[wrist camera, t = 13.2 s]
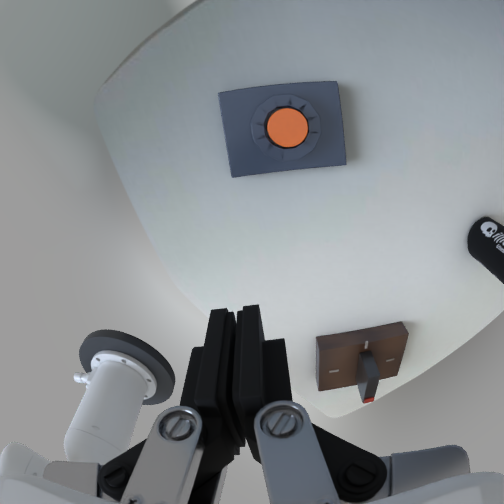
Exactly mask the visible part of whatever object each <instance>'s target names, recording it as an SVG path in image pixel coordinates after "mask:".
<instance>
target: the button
mask: <svg viewBox="0 0 504 504" xmlns="http://www.w3.org/2000/svg"><path fill="white" fill-rule="evenodd" d="M267 131H268V134H269V136H270V137H271V139H272V140H273V141H274V142H275V143H277V144H278V145H280V146H284V147H293V146H296V145H298V144H300V143H301V142H302V141H303V140H304V139H305V137H306V136H307V132H308V124H307V121H306V119H305V117H304V116H303V115H302V114H301V113H300V112H299V111H297V110H295V109H291V108H284V109H280V110H278V111H276V112H275V113H273V114H272V115H271V117H270V118H269V120H268V123H267Z"/></svg>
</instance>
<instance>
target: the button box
mask: <svg viewBox="0 0 504 504" xmlns="http://www.w3.org/2000/svg"><path fill="white" fill-rule="evenodd" d="M218 97H219V103H220V110H221V116H222V122H223V128H224V134H225V140H226V146H227V152H228V158H229V164H230V170H231V176H232V178H234V177H241V176H248V175H255V174H263V173H271V172H279V171H288V170H297V169H307V168H317V167H328V166H341V165H346V153H345V141H344V131H343V121H342V113H341V105H340V97H339V90H338V83H337V81H323V82H303V83H289V84H278V85H268V86H260V87H252V88H245V89H238V90H232V91H226V92H220V93H218ZM284 108H291V109H295V110H297V111H299V112H300V113H301V114H302V115H303V116H304V117H305V119H306V121H307V124H308V132H307V136H306V137H305V139H304V140H303V141H302V142H301V143H300V144H298V145H296V146H293V147H284V146H280V145H278V144H277V143H275V142H274V141H273V140H272V139H271V137H270V136H269V134H268V131H267V123H268V120H269V118H270V117H271V115H272V114H273V113H275V112H276V111H278V110H280V109H284Z"/></svg>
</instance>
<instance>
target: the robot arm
mask: <svg viewBox="0 0 504 504" xmlns="http://www.w3.org/2000/svg"><path fill="white" fill-rule="evenodd" d="M91 369H92V371H91V372H88V373H87V374H84V373H79V372H76V373H75V374H74V379H75V381H76V382H79V383H87V384H86V389H87V390H86V392H85V394H84V396H83V398H82V401H81V403H80V405H79V407H78V409H77V411H76V413H75V415H74V418H73V420H72V422H71V424H70V427H69V429H68V431H67V433H66V436H65V439H64V450H65V454H66V457H67V460H68V462H65V461H53V462H51V461H49V460H47V459H46V458H44V457H43V456H41V455H39V454H38V453H36V452H34V451H33V450H32V449H30V448H28V447H27V446H25V445H23V444H21V443H18V442H11V443H9V444H8V445H7V446H6V447H5V448H4V449H3V451H2V453H1V455H0V504H219V501H220V497H221V493H222V489H223V485H224V481H225V477H226V473H227V465H228V464H229V463H230V462H232V461H233V460H234V455H240V447H245V438H246V440H247V442H248V445H249V447H250V450H251V453H252V455H253V458H254V459H255V460H256V461H258V462H259V463H260V464H262V468H263V472H264V477H265V482H266V487H267V491H268V496H269V499H270V504H504V475H503V474H500V473H496V472H476V473H470V465H469V458H468V455H467V453H466V451H465V450H464V449H463V448H462V447H460V446H457V445H447V446H442V447H436V448H431V449H425V450H419V451H411V452H403V453H394V454H391V456H386V457H377V456H376V455H374V454H372V453H370V452H367V451H365V450H363V449H361V448H359V447H357V446H355V445H353V444H351V443H349V442H347V441H345V440H343V439H341V438H339V437H337V436H335V435H333V434H331V433H329V432H327V431H325V430H324V429H322V428H320V427H318V426H316V425H314V424H313V423H311V421H310V418H309V415H308V413H307V412H306V410H305V408H303V407H302V406H301V405H300V404H298V403H295V402H293V401H292V393H291V385H290V377H289V370H288V362H287V354H286V347H285V340H284V338H283V339H275V340H267V341H265V339H264V333H263V327H262V321H261V315H260V309H259V305H250V306H243V311H238V312H237V324H236V320H235V315H234V312H228V309H227V308H224V309H214V310H211V313H210V318H209V323H208V328H207V333H206V338H205V343H204V346H202V347H194V348H193V349H192V353H191V357H190V361H189V366H188V370H187V374H186V379H185V383H184V388H183V392H182V397H181V401H180V406H175V407H171V408H169V409H166V410H165V411H163V412H162V413H161V414H160V415H159V416H158V417H157V419H156V420H155V422H154V424H153V427H152V429H151V431H150V433H149V436H148V438H147V439H145V440H144V441H142V442H141V443H139V444H137V445H136V446H134V447H132V448H131V449H129V450H128V447H129V444H130V440H131V437H132V434H133V431H134V427H135V424H136V421H137V418H138V415H139V412H140V409H141V406H142V403H143V400H144V399H148V398H151V397H152V396H153V395H154V394H155V392H156V389H157V382H156V379H155V377H154V375H153V374H152V373H151V371H150V370H149V369H148V368H147V367H146V366H145V365H143V364H142V363H141V362H139V361H138V360H136V359H135V358H133V357H131V356H129V355H126V354H124V353H121V352H117V351H111V350H104V351H100V352H98V353H96V354H95V355H94V357H93V359H92V361H91Z"/></svg>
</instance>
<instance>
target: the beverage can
mask: <svg viewBox="0 0 504 504" xmlns="http://www.w3.org/2000/svg"><path fill="white" fill-rule="evenodd" d="M468 250H469V253H470V254H471V255H472V256H473V257H474V258H475V259H476V260H477V261H479V262H480V263H481V264H482V265H483V266H484V267H486V268H487V269H488V270H489V271H490V272H491V273H492V274H493V275H495V276H496V277H497V278H498V279H499V280H500V281H501V282H502V283H503V284H504V226H503V225H501V224H499V223H498V222H496V221H494V220H493V219H491V218H489V217H484V218H481V219H480V220H478V221H477V222H475V223H474V225H473V226H472V228H471V229H470V232H469V235H468Z"/></svg>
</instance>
